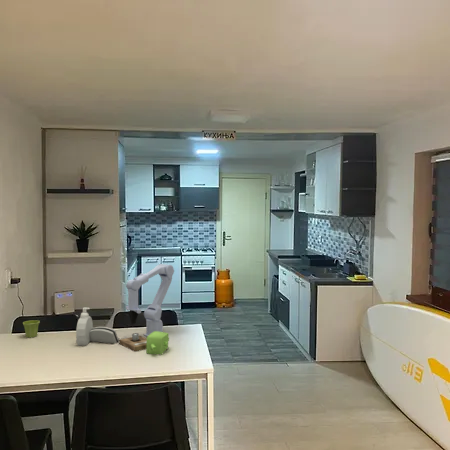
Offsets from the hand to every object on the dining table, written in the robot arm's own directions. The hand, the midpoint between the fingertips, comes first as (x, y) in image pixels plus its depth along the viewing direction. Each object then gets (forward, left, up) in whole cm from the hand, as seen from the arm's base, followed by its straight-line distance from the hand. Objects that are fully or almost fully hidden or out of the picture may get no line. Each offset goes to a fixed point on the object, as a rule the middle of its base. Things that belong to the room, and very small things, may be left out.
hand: (133, 323), depth 254 cm
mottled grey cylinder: (+3, +8, -10) cm, 13 cm away
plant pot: (+43, -47, -10) cm, 64 cm away
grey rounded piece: (+14, -9, -10) cm, 20 cm away
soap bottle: (+23, -14, -10) cm, 29 cm away
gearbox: (0, +27, -10) cm, 29 cm away
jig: (+3, +10, -10) cm, 14 cm away
